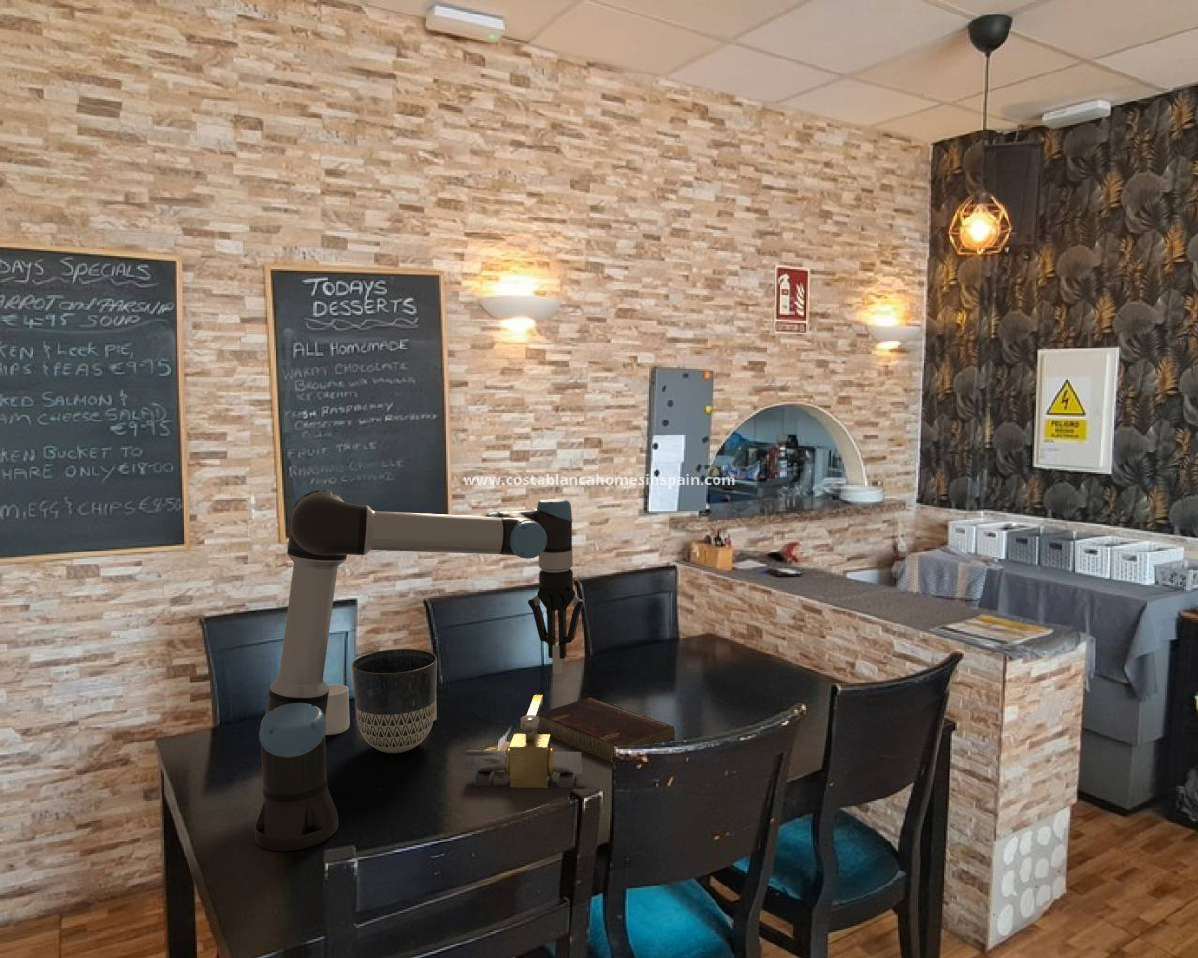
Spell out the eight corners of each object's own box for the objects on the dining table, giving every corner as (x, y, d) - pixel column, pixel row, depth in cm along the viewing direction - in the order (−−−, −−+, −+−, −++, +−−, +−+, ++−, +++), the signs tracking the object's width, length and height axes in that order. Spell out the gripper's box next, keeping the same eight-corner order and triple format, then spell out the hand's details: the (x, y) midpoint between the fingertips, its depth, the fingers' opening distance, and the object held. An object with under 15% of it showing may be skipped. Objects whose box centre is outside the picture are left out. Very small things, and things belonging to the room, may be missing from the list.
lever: (538, 730, 184) (538, 721, 184) (519, 730, 184) (519, 721, 184) (546, 703, 201) (546, 694, 201) (529, 702, 201) (529, 694, 201)
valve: (580, 788, 183) (579, 735, 182) (463, 786, 184) (462, 734, 183) (582, 774, 190) (582, 723, 189) (470, 772, 191) (469, 721, 190)
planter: (339, 748, 205) (336, 660, 203) (410, 726, 219) (408, 644, 217) (382, 773, 191) (379, 679, 189) (455, 748, 205) (453, 660, 203)
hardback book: (674, 744, 208) (674, 724, 207) (620, 767, 195) (620, 746, 194) (591, 713, 228) (591, 695, 228) (537, 733, 215) (537, 713, 215)
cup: (321, 737, 212) (319, 697, 211) (306, 723, 221) (305, 684, 221) (354, 730, 216) (353, 691, 215) (338, 716, 226) (337, 678, 225)
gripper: (588, 566, 194) (589, 668, 196) (532, 564, 197) (534, 665, 199) (580, 573, 186) (581, 679, 189) (522, 571, 189) (525, 675, 192)
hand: (557, 671), depth 194 cm, fingers closed
